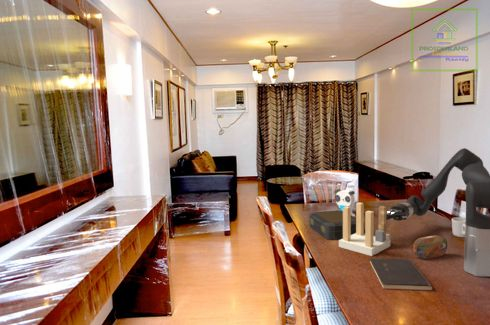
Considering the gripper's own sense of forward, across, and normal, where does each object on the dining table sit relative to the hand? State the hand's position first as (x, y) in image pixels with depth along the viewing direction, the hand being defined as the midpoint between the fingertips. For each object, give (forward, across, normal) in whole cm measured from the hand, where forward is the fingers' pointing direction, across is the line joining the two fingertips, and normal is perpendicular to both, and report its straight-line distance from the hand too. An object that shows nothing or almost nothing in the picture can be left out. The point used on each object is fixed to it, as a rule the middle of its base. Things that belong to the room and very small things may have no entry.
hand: (383, 218), depth 158 cm
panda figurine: (-33, -42, +13) cm, 55 cm away
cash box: (-4, -28, +13) cm, 31 cm away
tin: (-1, +19, +13) cm, 23 cm away
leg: (+1, 0, +10) cm, 10 cm away
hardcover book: (+24, +19, +14) cm, 34 cm away
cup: (-36, +20, +12) cm, 43 cm away
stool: (+7, -5, +13) cm, 15 cm away
